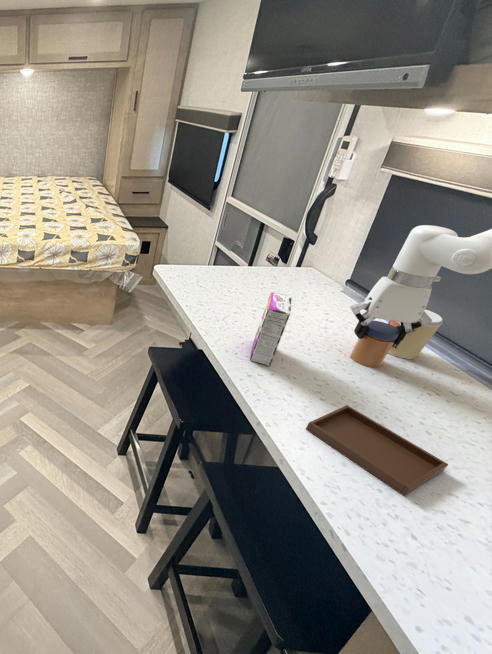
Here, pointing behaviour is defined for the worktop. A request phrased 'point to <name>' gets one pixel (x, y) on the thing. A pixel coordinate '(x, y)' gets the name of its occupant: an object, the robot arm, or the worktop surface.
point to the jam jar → (371, 350)
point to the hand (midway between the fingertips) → (376, 338)
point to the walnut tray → (377, 449)
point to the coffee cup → (415, 337)
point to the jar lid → (382, 330)
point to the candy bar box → (271, 328)
